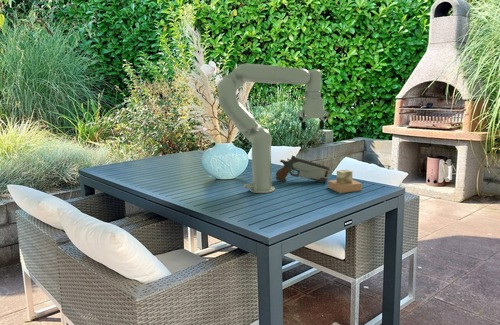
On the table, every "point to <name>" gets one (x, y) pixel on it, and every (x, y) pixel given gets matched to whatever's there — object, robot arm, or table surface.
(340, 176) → the beech cube
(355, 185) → the terracotta base
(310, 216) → the table surface
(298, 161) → the gun
